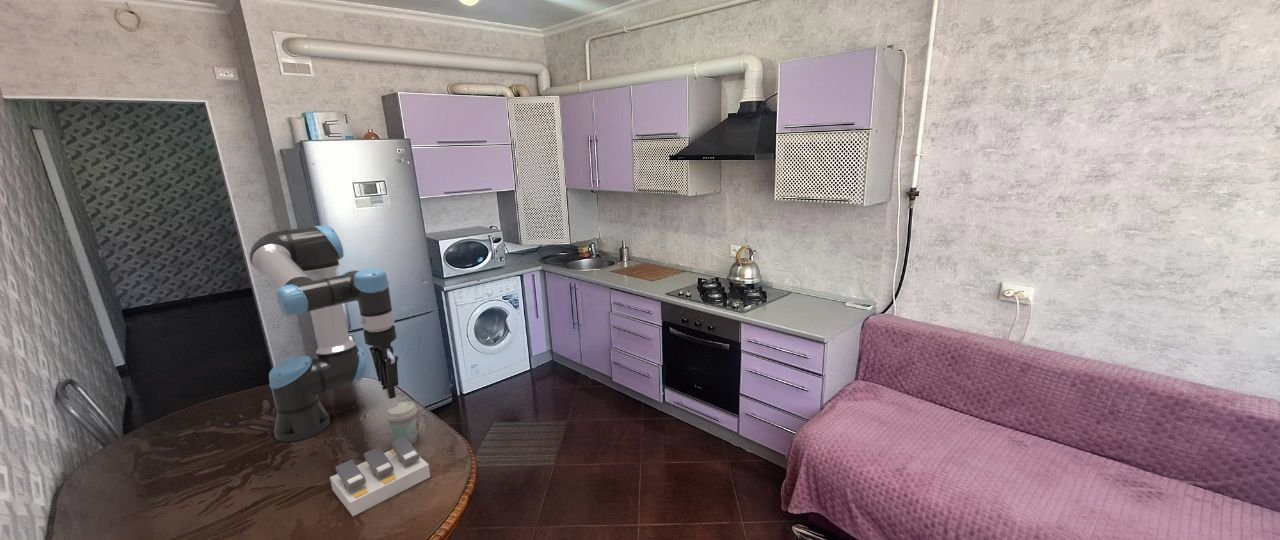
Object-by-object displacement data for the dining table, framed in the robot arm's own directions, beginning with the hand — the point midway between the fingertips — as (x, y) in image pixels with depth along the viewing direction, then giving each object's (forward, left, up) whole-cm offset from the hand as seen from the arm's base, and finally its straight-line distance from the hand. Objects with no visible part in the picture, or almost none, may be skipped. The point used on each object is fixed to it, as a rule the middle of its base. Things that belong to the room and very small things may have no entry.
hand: (392, 407), depth 141 cm
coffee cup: (-11, +6, -19) cm, 23 cm away
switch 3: (+3, 0, -13) cm, 13 cm away
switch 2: (+3, -7, -13) cm, 15 cm away
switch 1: (+3, -14, -13) cm, 19 cm away
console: (+3, -7, -19) cm, 20 cm away
